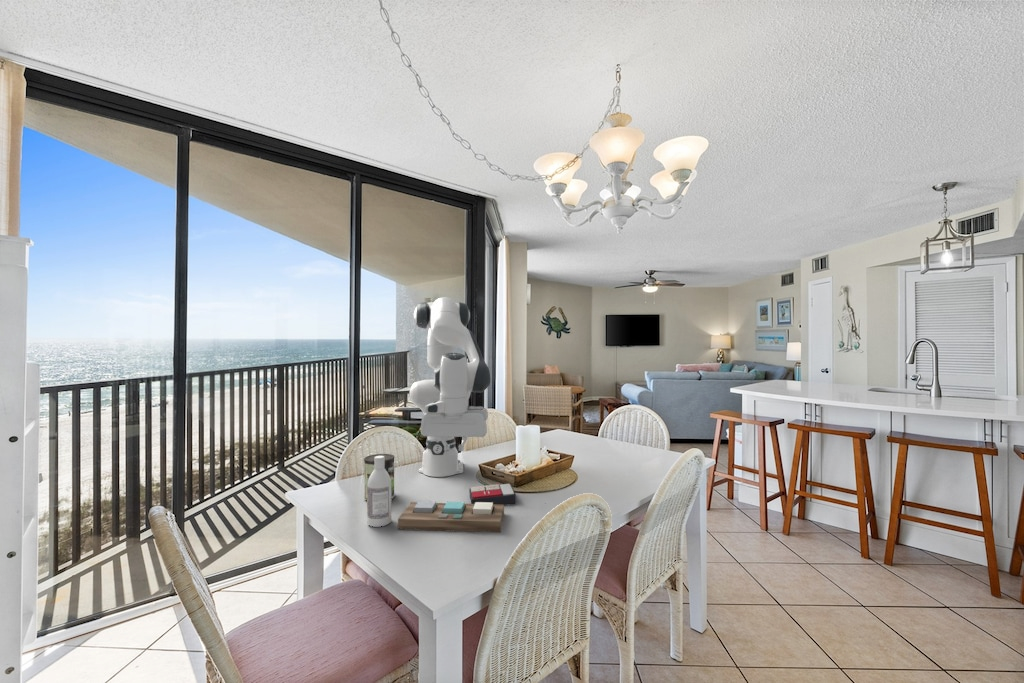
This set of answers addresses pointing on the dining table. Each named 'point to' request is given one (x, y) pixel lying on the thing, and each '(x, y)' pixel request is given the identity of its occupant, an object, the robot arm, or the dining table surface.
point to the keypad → (452, 519)
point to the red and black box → (493, 494)
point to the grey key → (425, 507)
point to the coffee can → (370, 468)
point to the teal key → (454, 508)
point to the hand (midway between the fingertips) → (454, 450)
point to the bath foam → (379, 495)
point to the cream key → (483, 508)
